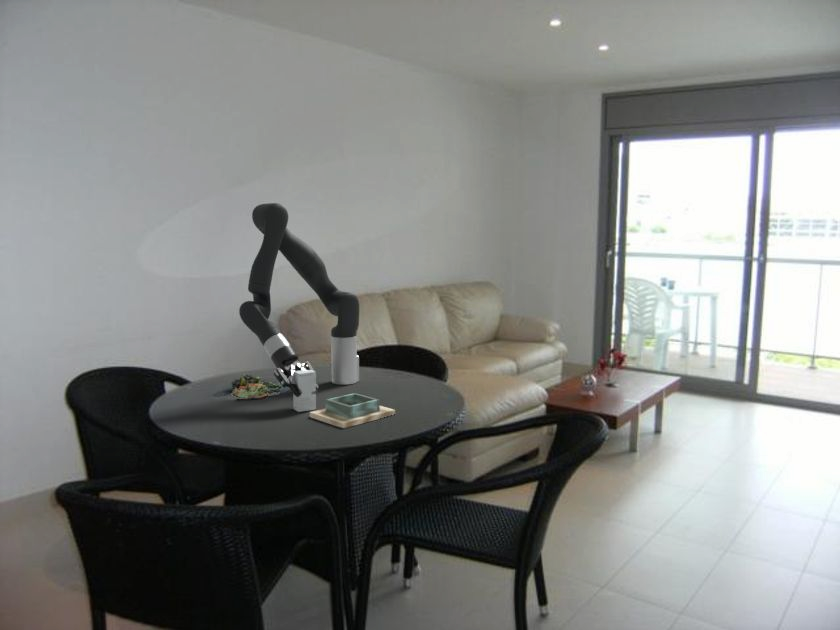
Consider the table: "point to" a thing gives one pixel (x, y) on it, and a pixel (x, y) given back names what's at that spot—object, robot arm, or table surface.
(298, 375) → the skincare box
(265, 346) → the robot arm
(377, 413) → the socket board
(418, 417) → the table surface
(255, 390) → the plated dish
